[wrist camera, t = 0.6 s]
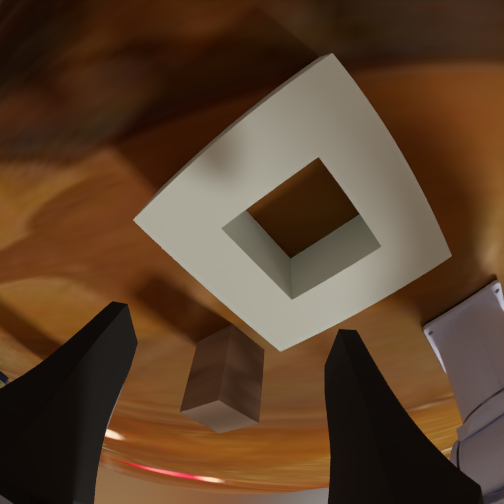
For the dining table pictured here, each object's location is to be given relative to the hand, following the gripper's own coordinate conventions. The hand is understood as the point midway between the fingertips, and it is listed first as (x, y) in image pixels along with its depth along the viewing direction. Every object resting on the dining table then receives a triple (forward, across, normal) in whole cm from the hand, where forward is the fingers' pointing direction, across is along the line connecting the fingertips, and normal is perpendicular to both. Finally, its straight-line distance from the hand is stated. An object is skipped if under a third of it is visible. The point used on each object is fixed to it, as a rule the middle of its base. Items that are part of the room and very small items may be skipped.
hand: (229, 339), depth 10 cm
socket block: (+10, -3, -1) cm, 10 cm away
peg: (+10, +1, +13) cm, 16 cm away
